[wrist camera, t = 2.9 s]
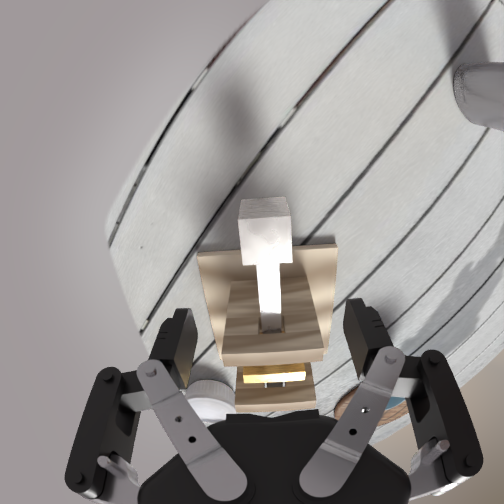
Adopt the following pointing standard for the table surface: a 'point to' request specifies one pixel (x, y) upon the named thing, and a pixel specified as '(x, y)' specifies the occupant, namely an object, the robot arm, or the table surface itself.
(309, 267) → the bracket
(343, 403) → the trivet
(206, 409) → the ramekin
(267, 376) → the spacer ring
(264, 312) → the shaft
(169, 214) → the table surface
